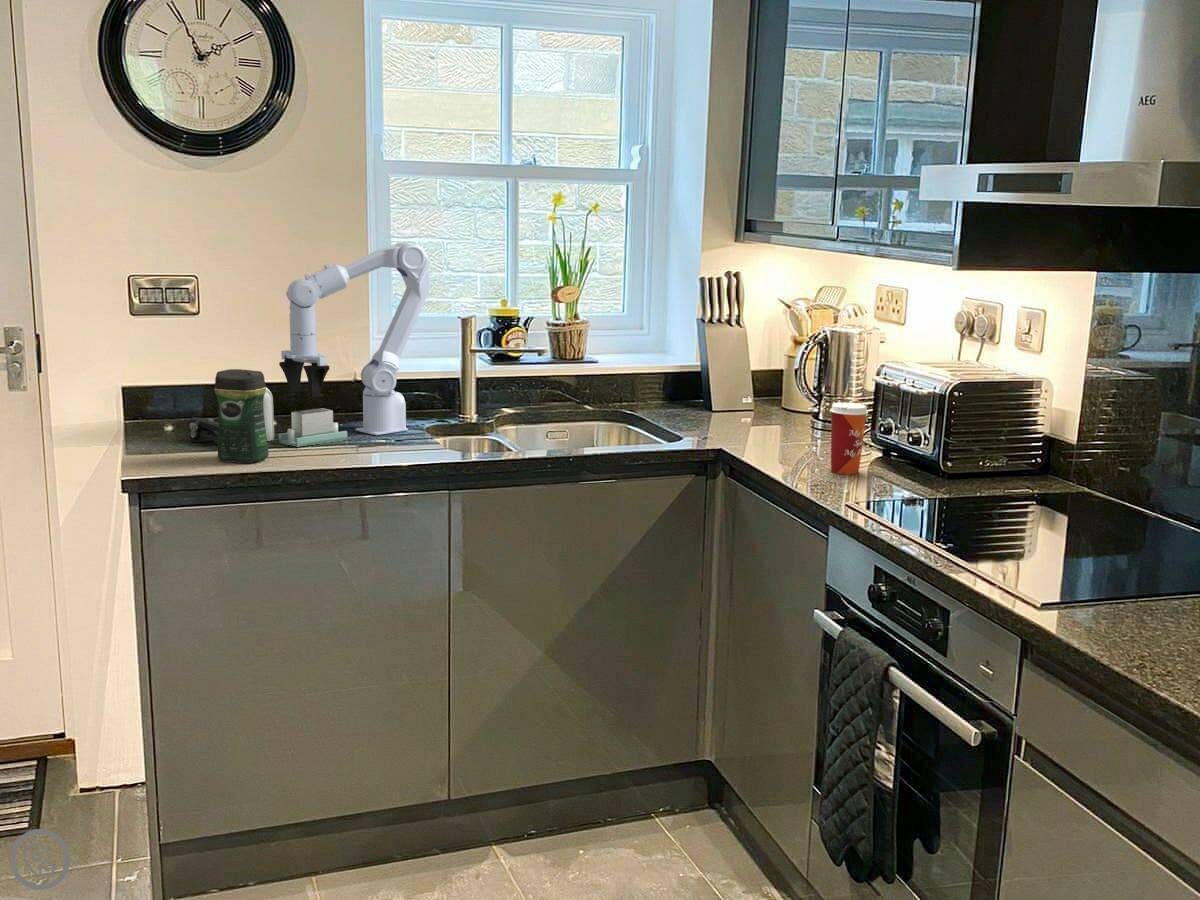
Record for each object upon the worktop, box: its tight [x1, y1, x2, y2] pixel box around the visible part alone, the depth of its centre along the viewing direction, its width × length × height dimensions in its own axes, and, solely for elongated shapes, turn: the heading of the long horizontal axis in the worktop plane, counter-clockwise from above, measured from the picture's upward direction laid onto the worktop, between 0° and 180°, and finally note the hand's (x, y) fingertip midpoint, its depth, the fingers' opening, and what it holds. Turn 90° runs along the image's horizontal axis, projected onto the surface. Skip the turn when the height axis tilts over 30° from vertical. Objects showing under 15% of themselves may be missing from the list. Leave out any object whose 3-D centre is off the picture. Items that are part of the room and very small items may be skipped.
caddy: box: [278, 421, 349, 447], centre depth 256 cm, size 13×7×4 cm, turn 138°
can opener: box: [187, 416, 219, 444], centre depth 251 cm, size 18×7×6 cm, turn 54°
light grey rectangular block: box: [291, 407, 334, 438], centre depth 256 cm, size 8×4×6 cm, turn 138°
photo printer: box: [263, 387, 275, 442], centre depth 257 cm, size 10×4×12 cm, turn 39°
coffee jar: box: [214, 368, 269, 464], centre depth 235 cm, size 10×8×19 cm
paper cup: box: [829, 402, 869, 476], centre depth 239 cm, size 8×8×14 cm
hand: (304, 394), depth 261 cm, fingers open, 7 cm apart
